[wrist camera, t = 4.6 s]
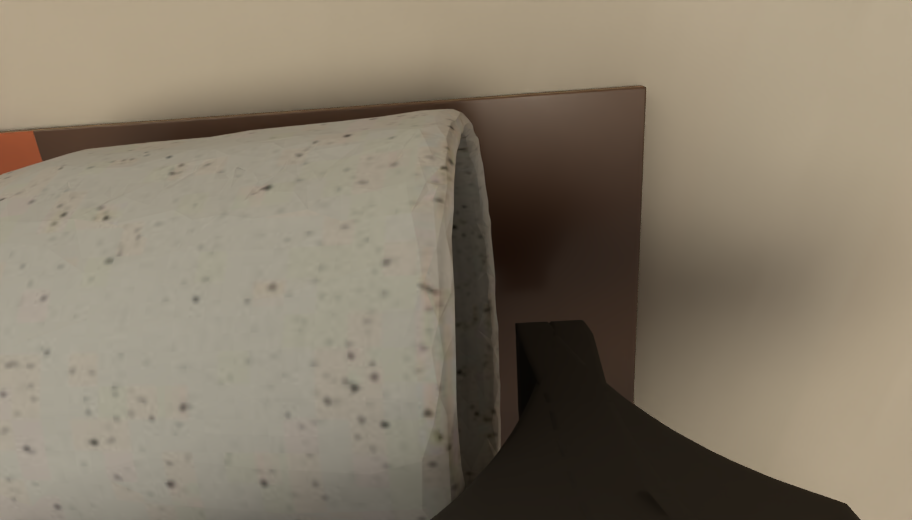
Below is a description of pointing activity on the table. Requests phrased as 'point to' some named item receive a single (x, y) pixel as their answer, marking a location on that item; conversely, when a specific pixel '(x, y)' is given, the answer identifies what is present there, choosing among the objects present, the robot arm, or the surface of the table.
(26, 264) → the ceramic mug
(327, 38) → the table surface
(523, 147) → the walnut board
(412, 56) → the table surface
